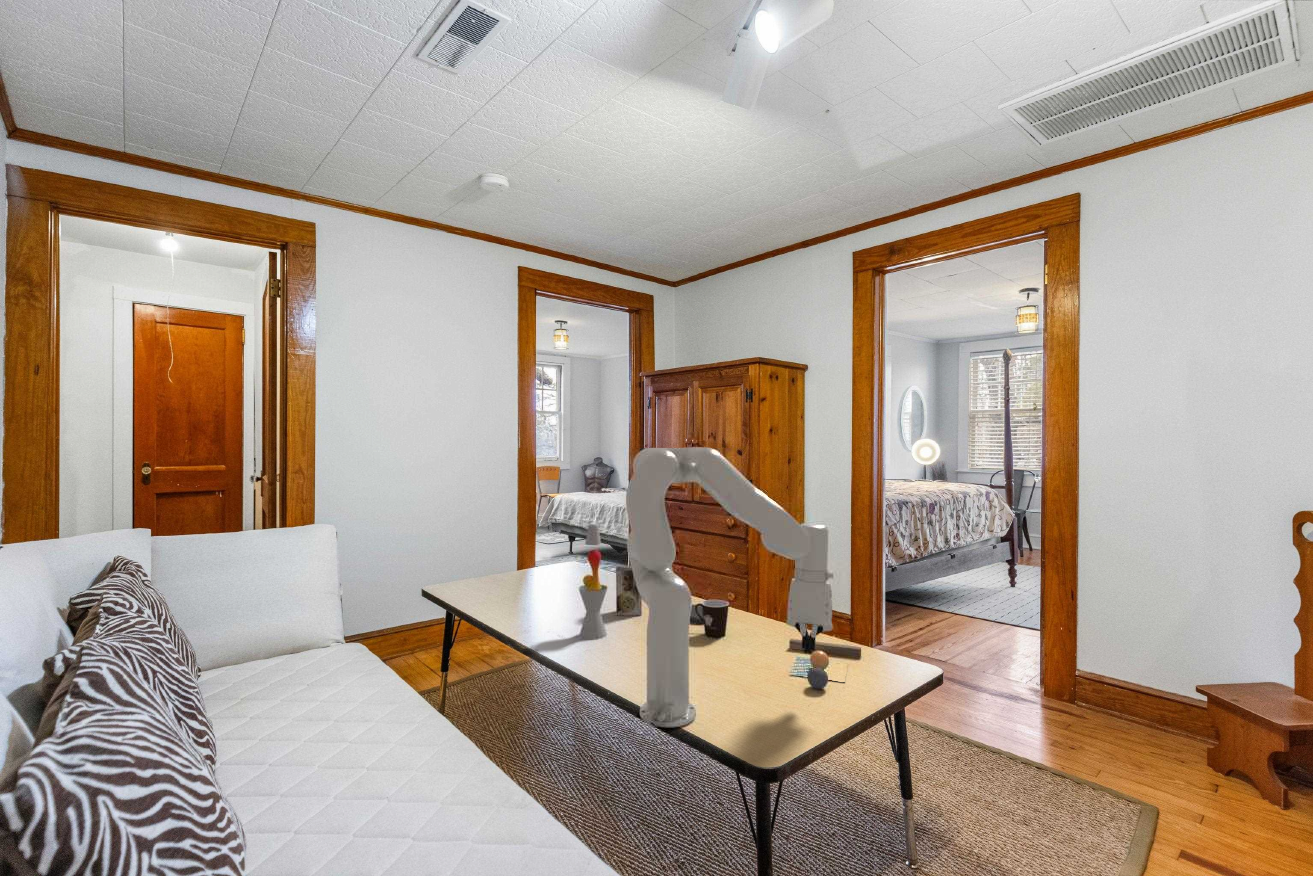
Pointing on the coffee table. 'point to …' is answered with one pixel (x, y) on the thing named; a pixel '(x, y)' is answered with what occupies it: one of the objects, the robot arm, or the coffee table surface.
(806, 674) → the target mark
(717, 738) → the coffee table surface
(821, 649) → the wall
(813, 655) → the object ball
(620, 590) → the coffee box
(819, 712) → the coffee table surface
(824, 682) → the grey ball
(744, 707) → the coffee table surface
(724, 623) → the coffee mug
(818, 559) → the robot arm
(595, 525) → the lava lamp
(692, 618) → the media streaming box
